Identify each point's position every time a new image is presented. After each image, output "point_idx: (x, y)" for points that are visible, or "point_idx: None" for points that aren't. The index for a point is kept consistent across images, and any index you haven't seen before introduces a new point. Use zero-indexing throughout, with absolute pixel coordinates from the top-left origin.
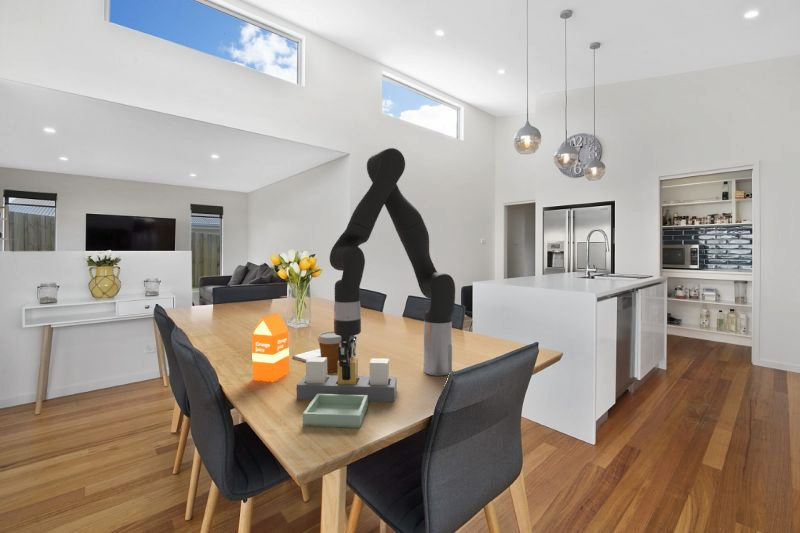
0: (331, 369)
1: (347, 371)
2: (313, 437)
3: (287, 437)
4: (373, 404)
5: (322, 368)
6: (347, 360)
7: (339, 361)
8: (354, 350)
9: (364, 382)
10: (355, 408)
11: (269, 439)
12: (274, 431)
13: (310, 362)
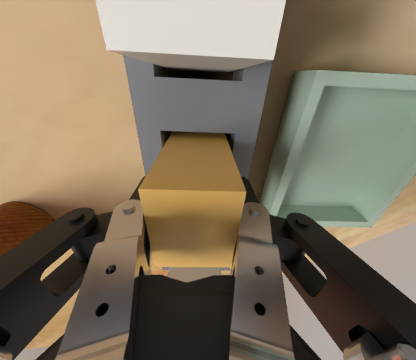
0: (47, 224)
1: (255, 197)
2: (409, 182)
3: (381, 219)
4: (282, 49)
5: (220, 274)
6: (356, 257)
7: (320, 279)
8: (137, 266)
9: (215, 101)
10: (319, 113)
11: (373, 237)
12: (348, 238)
13: None
